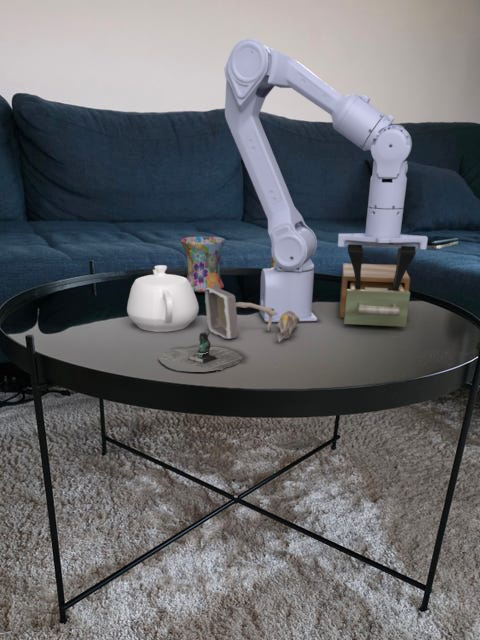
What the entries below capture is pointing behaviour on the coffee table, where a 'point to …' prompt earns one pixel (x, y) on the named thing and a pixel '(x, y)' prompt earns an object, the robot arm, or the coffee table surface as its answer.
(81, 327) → the coffee table surface
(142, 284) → the teapot
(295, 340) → the coffee table surface
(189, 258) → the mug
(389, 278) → the cabinet
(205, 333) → the sculpture
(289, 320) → the decorative sculpture
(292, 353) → the coffee table surface
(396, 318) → the drawer
